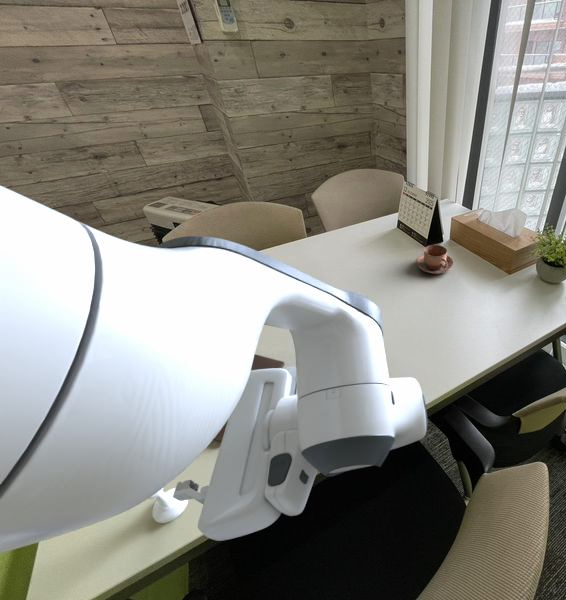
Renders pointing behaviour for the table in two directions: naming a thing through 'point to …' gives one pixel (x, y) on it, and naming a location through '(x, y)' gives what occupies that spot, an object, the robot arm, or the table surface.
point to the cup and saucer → (435, 260)
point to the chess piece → (167, 506)
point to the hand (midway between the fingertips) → (192, 451)
